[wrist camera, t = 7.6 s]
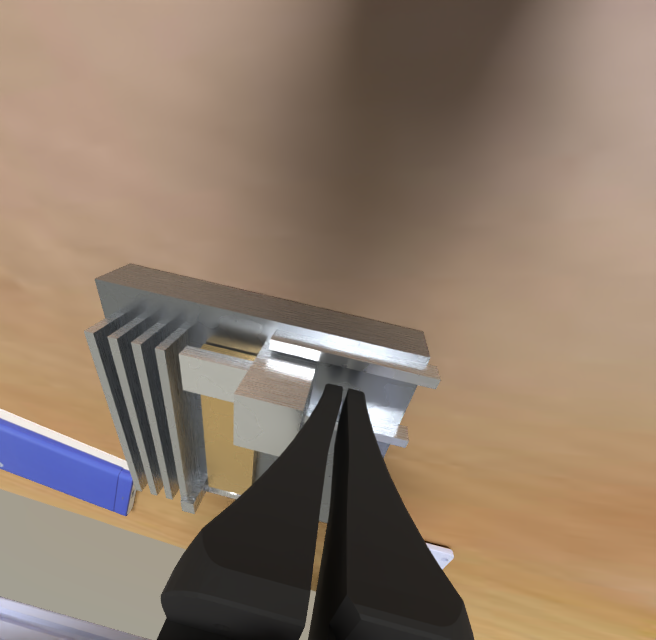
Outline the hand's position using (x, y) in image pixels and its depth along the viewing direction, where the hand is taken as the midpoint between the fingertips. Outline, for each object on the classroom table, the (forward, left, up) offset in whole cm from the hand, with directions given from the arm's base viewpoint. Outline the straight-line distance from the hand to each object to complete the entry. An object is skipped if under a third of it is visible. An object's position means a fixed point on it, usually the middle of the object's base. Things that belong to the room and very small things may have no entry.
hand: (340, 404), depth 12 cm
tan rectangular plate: (-5, +5, -1) cm, 7 cm away
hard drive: (-18, +21, -4) cm, 28 cm away
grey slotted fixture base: (-5, +4, -3) cm, 7 cm away
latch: (0, +4, -1) cm, 4 cm away
